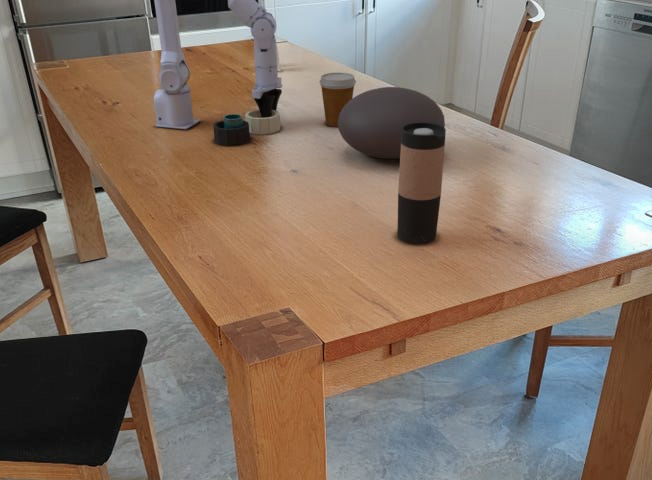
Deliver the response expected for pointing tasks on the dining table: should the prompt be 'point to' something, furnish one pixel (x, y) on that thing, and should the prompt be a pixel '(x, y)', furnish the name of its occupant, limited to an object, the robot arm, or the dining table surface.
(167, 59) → the robot arm
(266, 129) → the ivory ring
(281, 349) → the dining table surface
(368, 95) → the smooth stone
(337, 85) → the disposable coffee cup
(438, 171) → the travel mug
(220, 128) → the black ring
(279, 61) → the shaker set
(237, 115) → the espresso cup
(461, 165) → the dining table surface
